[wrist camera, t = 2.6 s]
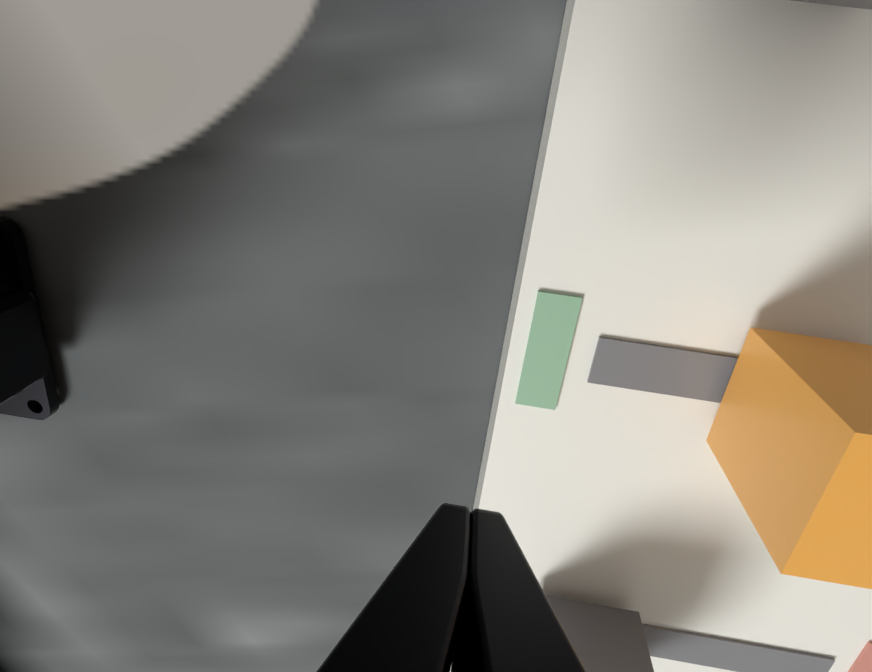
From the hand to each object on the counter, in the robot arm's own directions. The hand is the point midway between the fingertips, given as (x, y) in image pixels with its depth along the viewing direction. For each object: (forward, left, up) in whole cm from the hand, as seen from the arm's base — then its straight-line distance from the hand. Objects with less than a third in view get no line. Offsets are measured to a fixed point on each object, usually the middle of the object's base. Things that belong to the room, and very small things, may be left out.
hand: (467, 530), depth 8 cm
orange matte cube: (+7, 0, -6) cm, 9 cm away
